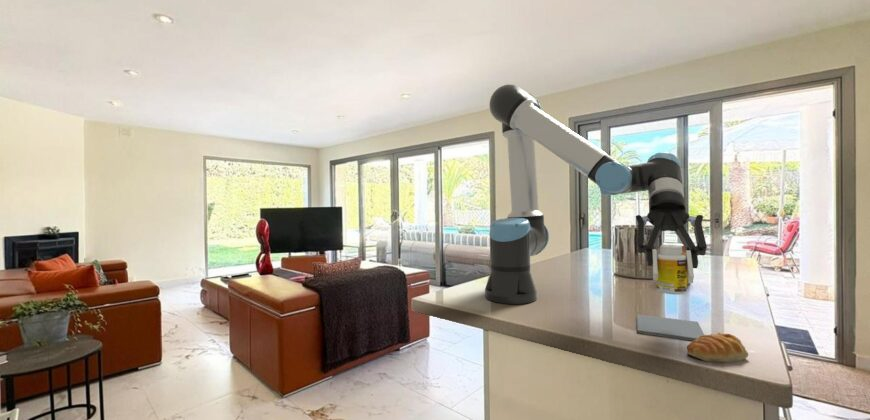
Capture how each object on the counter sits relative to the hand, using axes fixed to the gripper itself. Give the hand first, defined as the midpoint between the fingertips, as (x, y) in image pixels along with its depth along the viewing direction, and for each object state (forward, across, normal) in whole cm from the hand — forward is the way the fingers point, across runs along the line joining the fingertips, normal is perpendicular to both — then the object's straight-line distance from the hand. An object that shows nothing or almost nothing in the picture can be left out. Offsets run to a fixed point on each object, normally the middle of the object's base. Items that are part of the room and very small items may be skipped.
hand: (673, 278), depth 76 cm
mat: (+6, +1, -11) cm, 13 cm away
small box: (-33, -5, -50) cm, 60 cm away
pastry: (+15, -6, -3) cm, 16 cm away
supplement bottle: (0, 0, -6) cm, 6 cm away
